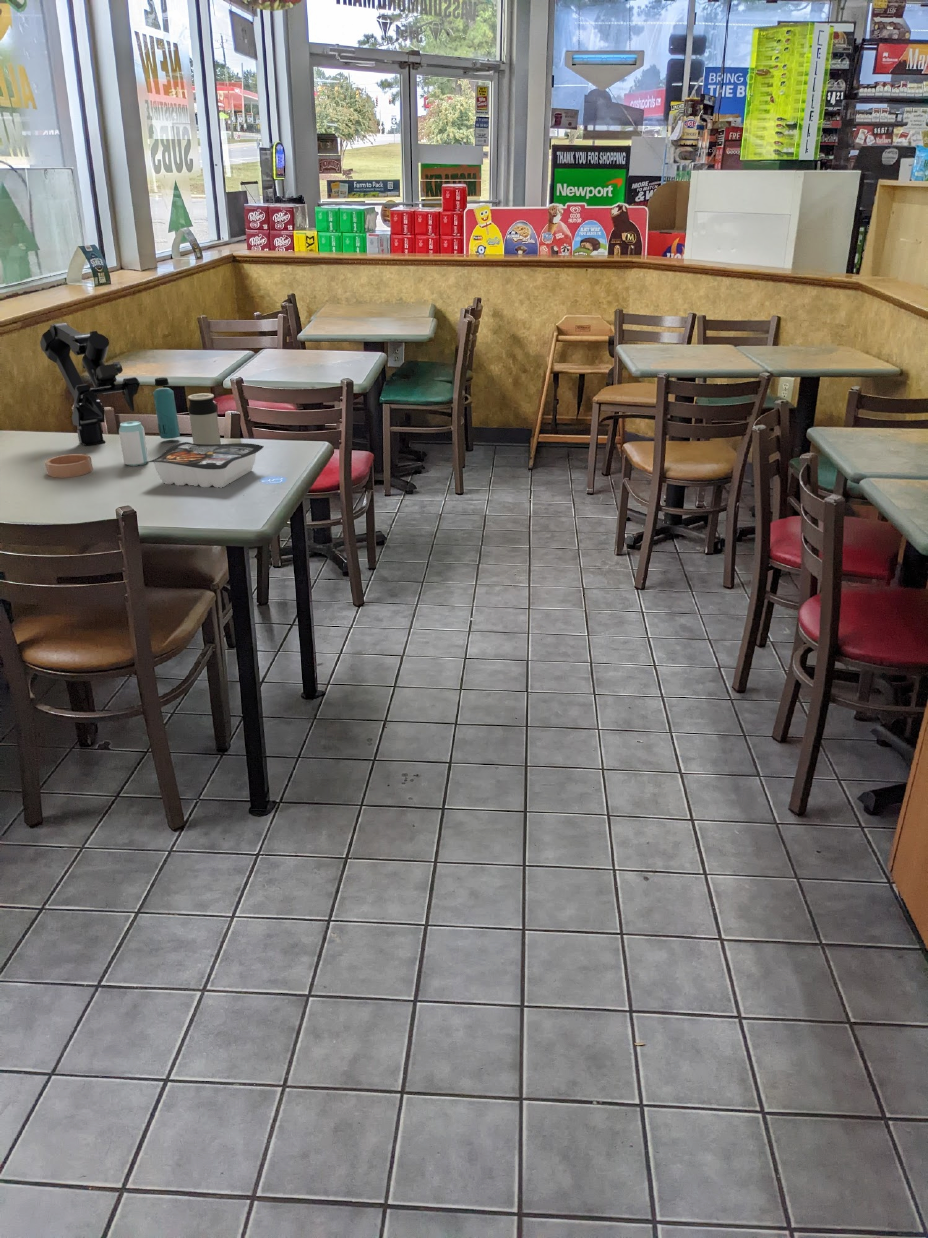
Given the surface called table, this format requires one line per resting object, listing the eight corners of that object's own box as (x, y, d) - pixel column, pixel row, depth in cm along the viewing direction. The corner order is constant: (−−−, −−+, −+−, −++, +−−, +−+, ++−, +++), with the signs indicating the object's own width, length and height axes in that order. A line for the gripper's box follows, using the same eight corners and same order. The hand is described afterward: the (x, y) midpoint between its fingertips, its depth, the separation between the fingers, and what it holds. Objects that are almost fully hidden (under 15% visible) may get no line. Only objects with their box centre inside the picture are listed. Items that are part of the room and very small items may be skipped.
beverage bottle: (184, 438, 316) (175, 375, 308) (176, 443, 310) (167, 379, 302) (164, 438, 317) (155, 375, 308) (156, 443, 311) (146, 379, 302)
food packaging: (142, 460, 265) (185, 439, 285) (146, 487, 269) (189, 464, 288) (225, 465, 259) (263, 443, 279) (228, 492, 262) (266, 469, 282)
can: (119, 465, 288) (112, 424, 283) (136, 459, 294) (130, 419, 289) (137, 467, 285) (130, 426, 280) (154, 461, 291) (148, 421, 286)
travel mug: (215, 459, 292) (207, 398, 284) (190, 458, 293) (182, 398, 286) (226, 452, 299) (219, 393, 291) (202, 451, 300) (194, 392, 293)
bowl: (84, 463, 291) (82, 451, 289) (98, 471, 282) (95, 460, 281) (43, 470, 284) (40, 459, 283) (55, 479, 276) (52, 467, 274)
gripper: (69, 357, 281) (91, 401, 278) (132, 349, 292) (153, 391, 289) (64, 381, 290) (85, 424, 287) (125, 372, 301) (146, 414, 298)
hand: (118, 413), depth 290 cm, fingers open, 9 cm apart
